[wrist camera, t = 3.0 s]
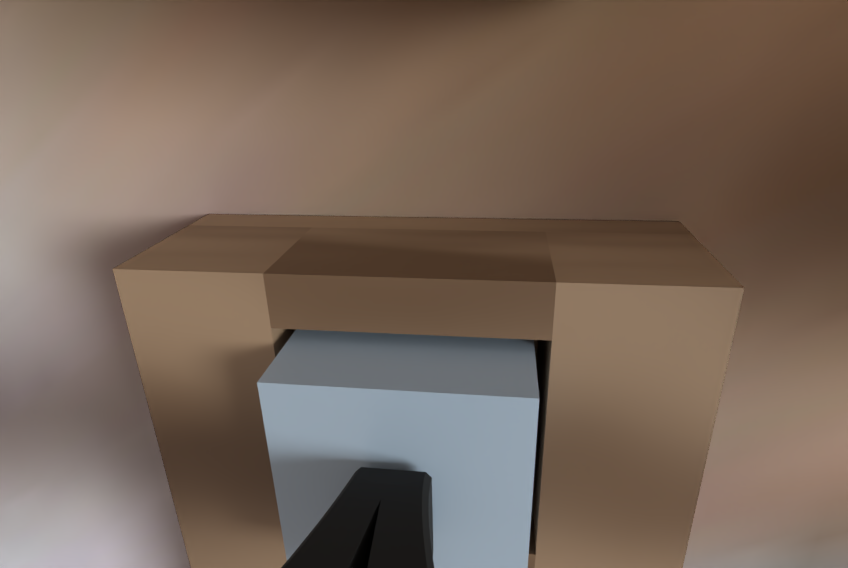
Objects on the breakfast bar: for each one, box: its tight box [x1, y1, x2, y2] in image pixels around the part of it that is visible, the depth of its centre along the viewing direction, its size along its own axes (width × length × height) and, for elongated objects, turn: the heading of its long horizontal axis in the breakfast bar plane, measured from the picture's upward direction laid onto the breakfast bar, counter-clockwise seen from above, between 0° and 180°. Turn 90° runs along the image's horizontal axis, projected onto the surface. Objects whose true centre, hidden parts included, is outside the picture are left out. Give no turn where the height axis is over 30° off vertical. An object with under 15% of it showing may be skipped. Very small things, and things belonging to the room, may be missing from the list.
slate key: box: [257, 329, 539, 568], centre depth 12 cm, size 5×5×3 cm
